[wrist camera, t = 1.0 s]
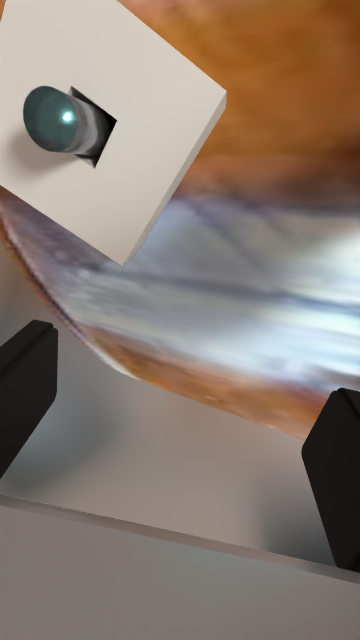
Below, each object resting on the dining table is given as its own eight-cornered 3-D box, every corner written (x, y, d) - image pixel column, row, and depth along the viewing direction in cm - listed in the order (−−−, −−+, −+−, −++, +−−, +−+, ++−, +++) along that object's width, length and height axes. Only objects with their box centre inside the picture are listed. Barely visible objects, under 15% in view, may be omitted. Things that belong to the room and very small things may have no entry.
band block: (73, -16, 29) (25, -75, 22) (225, 108, 32) (226, 91, 25) (13, 161, 37) (-36, 160, 30) (140, 248, 40) (122, 266, 33)
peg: (80, 95, 28) (34, 71, 21) (118, 123, 28) (85, 110, 21) (63, 138, 29) (15, 129, 23) (99, 164, 30) (63, 163, 23)
